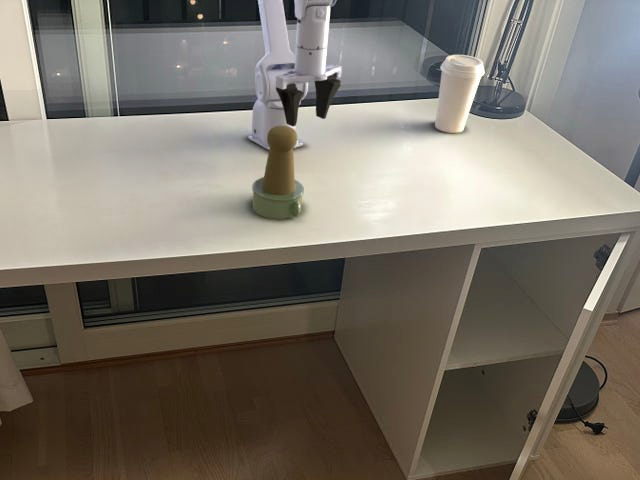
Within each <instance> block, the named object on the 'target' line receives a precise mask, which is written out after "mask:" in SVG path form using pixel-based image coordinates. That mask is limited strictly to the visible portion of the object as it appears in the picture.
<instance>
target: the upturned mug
mask: <svg viewBox="0 0 640 480" xmlns="http://www.w3.org/2000/svg"><path fill="white" fill-rule="evenodd" d="M263 179H264V176H263V177H259V178H258V179H256V180H254V181H253V183H252V185H251V190H252V205H251V206H252V209H253V211H254V212H255V213H256V214H258V215H259V216H261V217H264V218H268V219H273V220H285V219H291V218H298V217H299V216H300V212H301V210H302V201H303V195H304V191H305V188H304V184H303V183H301V182H300V181H299V180H297V179H295V190H294V192H292V193H291V194H287V195H273V194H270V193H267V192H266V191H264V190H263V188H262V184H263Z"/></svg>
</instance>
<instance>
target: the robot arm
mask: <svg viewBox="0 0 640 480" xmlns="http://www.w3.org/2000/svg"><path fill="white" fill-rule="evenodd" d="M293 1H294V17H295V18H297V19H296V34H295V53H294V52H293V51H292V50H291V49H290V43H289V36H288V35H289V34H288V30H287V29H288V28H287V22H286V21H287V20H286V15H285V7H284V1H283V0H257V4H258V8H259V9H258V10H259V17H260V23H261V30H262V37H263V43H264V50H265V55H264V56H263V57H262V58H261V59H260V60H259V61H257V63H256V65H255V68H254V77H255V78H254V89H255V95H256V98H257V99H256V101H255V102H254V105H253V106H252V115H251V116H252V117H251V118H252V119H251V135H249V136H248V140H250V141H252V142H254V143H256V144H257V145H259V146H261V147H263V148H264V149H265V150H267V151H269V149H270V146H269V145H268V142H267V135H268V132H269V130H270V129H271V128H273V127H275V126H288V127H291V128H292V129H294V130H295V131H296V127H297V122H298V115H299V108H300V107H299V106H300V105H301V103H302V102H301V101H302V100H304V99H305V98H306V96H307V94H308V91H309V83H312V82H313V83H314V86H315V116H316V117H318V118H320V119H322V120H325V119H326V118H327V115H328V113H329V109H330V107H331V104H332V102H333V99H334V97H335V95H336V94H337V92H338V90H339V89H340V88H341V86H342V81H341V80H340V79H338V78H341V77H342V71H343V70H342V69H343V66H342V65H338V64H336V63H335V64H327V55H328V44H329V31H330V20H331V19H330V17H331V8H332V7H334V6H335V5H336V2H337V0H293ZM303 145H304V143H303V142H302V141H300V140H298V139H297V143H296V145H295V147H294V148H293V149H296V148H299V147H302V146H303Z"/></svg>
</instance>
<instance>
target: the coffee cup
mask: <svg viewBox="0 0 640 480" xmlns="http://www.w3.org/2000/svg"><path fill="white" fill-rule="evenodd" d="M439 69H440V71H441V75H440V84H439V92H438V99H437V107H436V115H435V116H436V117H435V122H434V127H435V128H436V129H437V130H439V131H441V132H444V133H449V134H456V133H462V132H463V131H464V129H465V126H466V122H467V119H468V117H469V114H470V111H471V107H472V104H473V101H474V99H475V95H476V94H477V91H478V90H477V89H478V86H479V84H480V80H481V78H482V76H484V75H485V67H484V62H483V60H482V59H480V58H478V57H475V56H471V55H466V54H451V55H448V56H446V58H445V60H444V61H443V62H442V63H441V64H440V67H439Z"/></svg>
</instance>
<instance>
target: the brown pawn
mask: <svg viewBox="0 0 640 480" xmlns="http://www.w3.org/2000/svg"><path fill="white" fill-rule="evenodd" d="M297 140H298V134H297V132H296V129H295V130H294V129H292V128H291V127H288V126H275V127H273V128H271V129H270V130H269V132H268V135H267V142H268V145H269V146H270V149H269V150H268V154H267V159H266V160H267V161H266V163H265V164H266V166H265V169H264V175H263V177H264V179H263V184H262V188H263V190H264V191H266V192H267V193H270V194H273V195H287V194H291V193H292V192H294V190H295V180H296V178H295V159H294V149H295V148H294V147H295V145H296V143H297Z"/></svg>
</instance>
